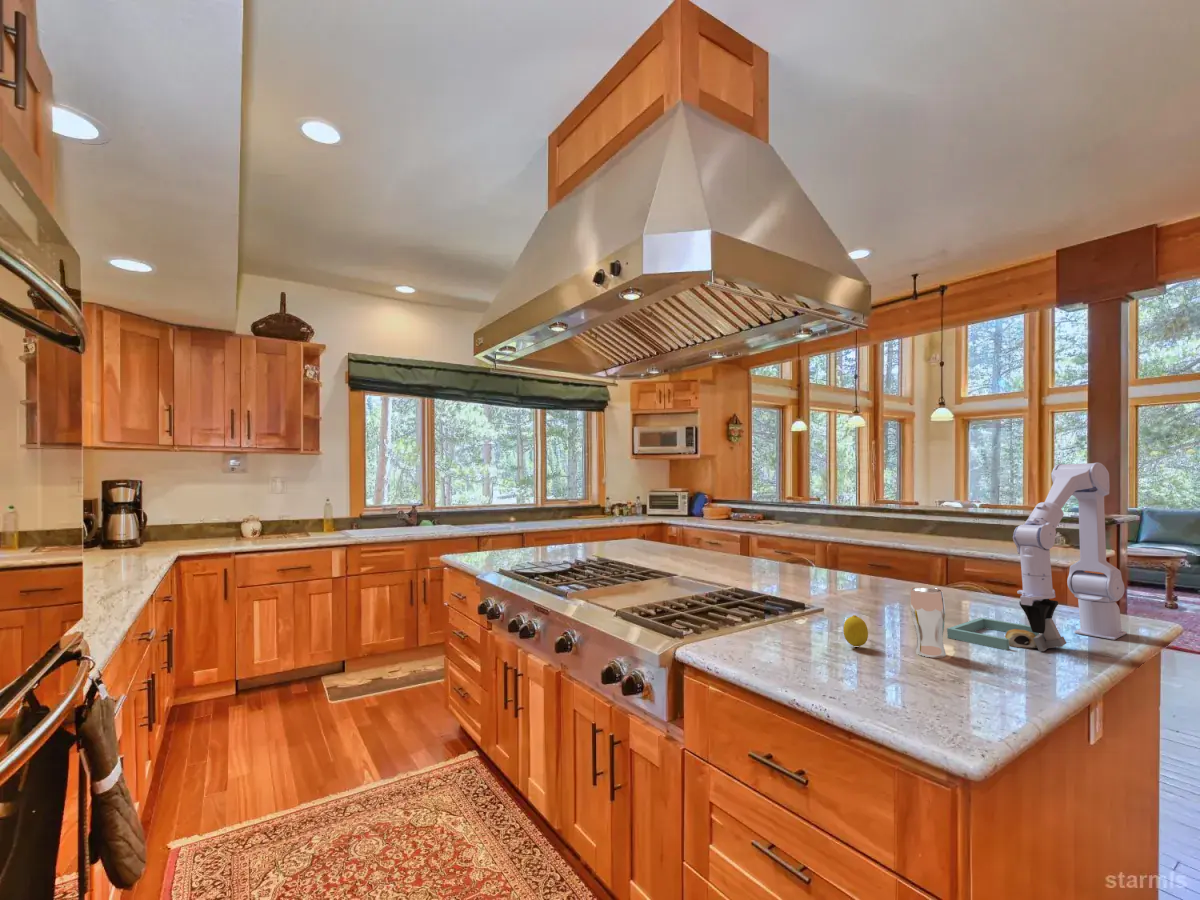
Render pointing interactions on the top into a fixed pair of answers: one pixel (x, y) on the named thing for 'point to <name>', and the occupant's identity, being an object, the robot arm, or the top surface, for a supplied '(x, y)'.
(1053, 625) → the pusher
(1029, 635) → the pastry
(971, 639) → the bay
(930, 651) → the beer glass
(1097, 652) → the top surface
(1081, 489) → the robot arm
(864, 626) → the lemon
